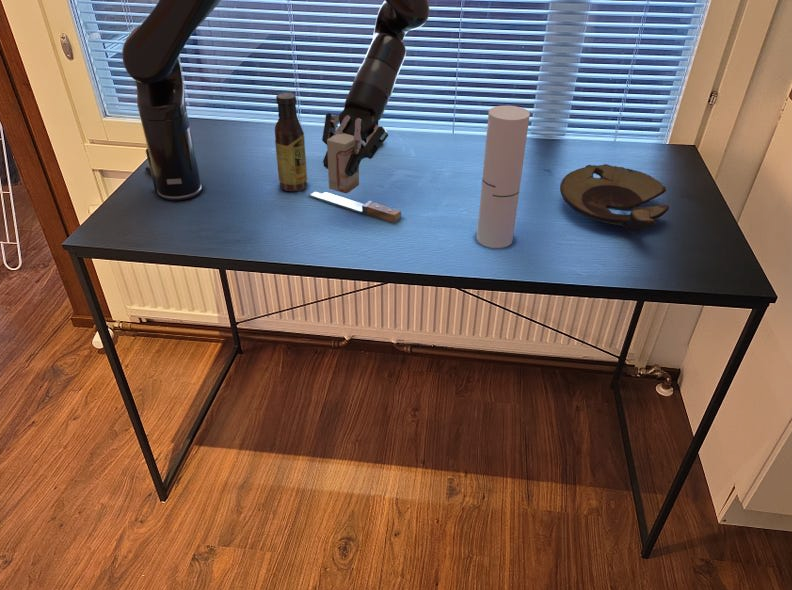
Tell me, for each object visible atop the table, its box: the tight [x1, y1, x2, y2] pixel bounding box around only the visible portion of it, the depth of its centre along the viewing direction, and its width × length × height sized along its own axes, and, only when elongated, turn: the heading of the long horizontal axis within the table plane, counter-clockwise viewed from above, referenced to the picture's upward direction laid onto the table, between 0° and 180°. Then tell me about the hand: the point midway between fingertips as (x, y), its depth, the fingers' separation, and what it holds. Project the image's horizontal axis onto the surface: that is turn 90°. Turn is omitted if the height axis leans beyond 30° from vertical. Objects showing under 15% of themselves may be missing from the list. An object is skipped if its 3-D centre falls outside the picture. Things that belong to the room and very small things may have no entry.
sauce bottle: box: [274, 92, 308, 193], centre depth 142 cm, size 7×6×20 cm
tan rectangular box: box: [326, 133, 360, 194], centre depth 129 cm, size 5×4×10 cm
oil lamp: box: [559, 163, 670, 234], centre depth 137 cm, size 22×30×8 cm
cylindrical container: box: [476, 105, 531, 249], centre depth 124 cm, size 7×7×25 cm
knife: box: [309, 191, 402, 224], centre depth 141 cm, size 22×3×2 cm, turn 57°
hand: (337, 170), depth 128 cm, fingers closed on tan rectangular box, 4 cm apart
